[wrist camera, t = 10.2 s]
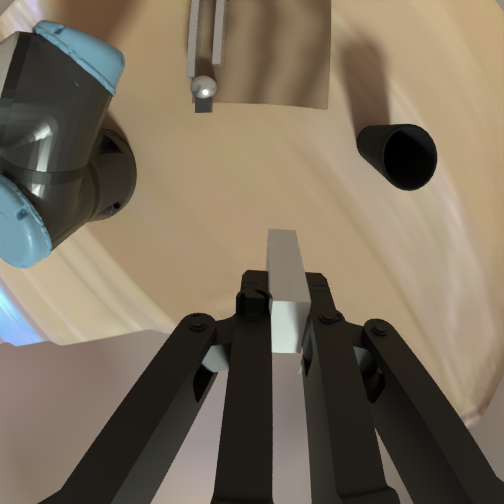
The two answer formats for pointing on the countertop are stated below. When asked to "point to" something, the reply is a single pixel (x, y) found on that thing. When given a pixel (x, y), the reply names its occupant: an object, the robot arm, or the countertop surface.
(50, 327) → the countertop surface
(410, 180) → the cup
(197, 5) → the tongs fixed
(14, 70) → the robot arm
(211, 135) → the countertop surface
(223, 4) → the tong arm
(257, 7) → the board
